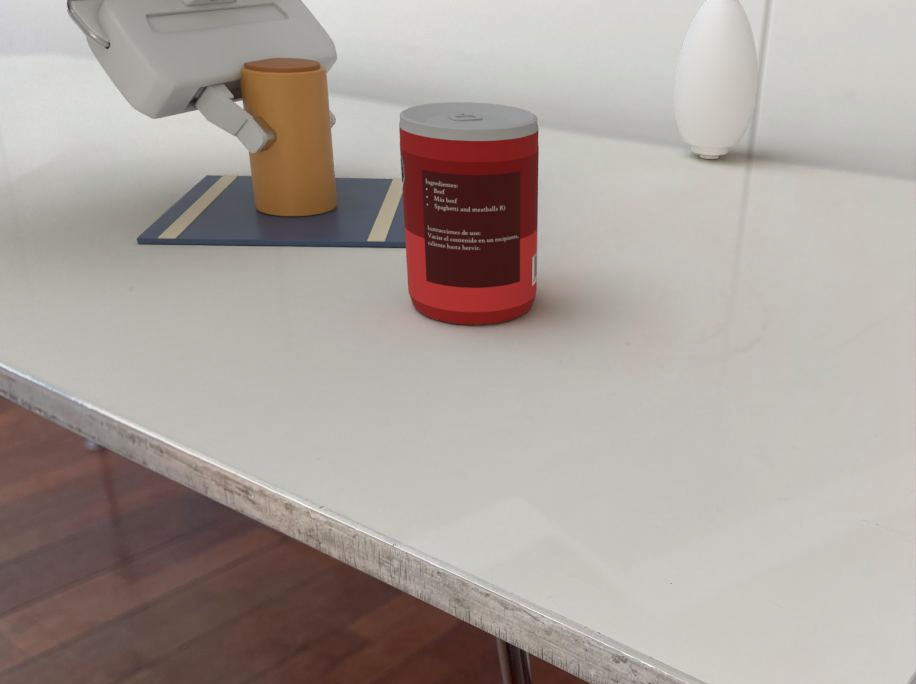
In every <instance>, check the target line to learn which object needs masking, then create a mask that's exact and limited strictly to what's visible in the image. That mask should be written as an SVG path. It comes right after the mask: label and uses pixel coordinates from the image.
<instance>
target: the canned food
mask: <svg viewBox="0 0 916 684" xmlns="http://www.w3.org/2000/svg"><path fill="white" fill-rule="evenodd" d="M398 128H399V129H398V130H399V154H400V155H399V157H400V170H401V171H400V172H401V173H400V174H401V178H402V190H403V207H404V225H405V242H406V247H405V257H406V273H407V290H408V295H409V297H410V301H411V303H412V305H413V307H414V308H415V310H417V311H418V312H419V313H420V314H422V315H424V316H426V317H427V318H430V319H432V320H436V321H439V322H443V323H449V324H455V325H466V326H481V325H483V326H485V325H494V324H500V323H505V322H508V321H513V320H516V319H517V318H520V317H522V316H524V315H525V314H526V313H527V312H529V311H530V310H531V309H532V307H533V305H534V302H535V298H536V295H537V290H538V289H537V288H538V287H537V285H538V284H537V283H538V281H537V280H538V220H539V219H538V214H539V213H538V212H539V154H540V153H539V147H540V146H539V124H538V116H537V115H536V114H535V113H533V112H531V111H529V110H526V109H524V108H520V107H516V106H512V105H505V104H497V103H487V102H470V101H467V102H464V101H453V102H452V101H451V102H450V101H449V102H433V103H424V104H418V105H413V106H411V107H408V108H405V109H404V110H402V111H401V112H400V113H399V122H398Z"/></svg>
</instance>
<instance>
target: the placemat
mask: <svg viewBox="0 0 916 684" xmlns="http://www.w3.org/2000/svg"><path fill="white" fill-rule="evenodd" d="M335 184H336V196H337V207H336V208H335V209H333V210H331V211H329V212H326V213H322V214H317V215H311V216H296V217H289V216H276V215H270V214H265V213H262V212H260V211H258V210H257V209H256V207H255V200H254V192H253V183H252V175H239V174H238V175H237V174H223V175H221V174H220V175H218V174H217V175H214V174H213V175H211V174H206V175H205V176H204V177H203V178H202V179H200V181H198V183H196V184H195V185H194V186H193V187H192V188H191V189H190V190H189V191H187V192H186V193H185V194H184V195H183V196H182V197H180V199H179V200H177V201H176V202H175V203H174V204H173V205H171V207H170V208H168V209H167V210H166V211H165V212H164V213H163V214H162V215H161V216H159V218H157V219H156V220H155V221H154V222H153V223H152V224H150V225H149V226H148V227H147V228H146V229H145V230H144V231H143V232H142V233H140V234H139V235H138V237H136V243H137V244H138V245H139V244H141V245H143V244H144V245H145V244H146V245H207V246H208V245H212V246H213V245H215V246H219V245H220V246H279V247H280V246H281V247H282V246H285V247H286V246H289V247H294V246H295V247H356V248H357V247H358V248H359V247H360V248H361V247H363V248H365V247H366V248H406V242H405V225H404V207H403V190H402V177H401V178H396V177H393V178H374V177H373V178H366V177H365V178H364V177H335Z"/></svg>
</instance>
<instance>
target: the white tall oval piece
mask: <svg viewBox="0 0 916 684" xmlns="http://www.w3.org/2000/svg"><path fill="white" fill-rule="evenodd" d="M676 62H677V63H676V66H675V72H674V78H673V86H672V87H673V89H672V90H673V91H672V104H673V113H674V118H675V124H676V126H677V127H676V128H677V130H678V132H679V135H680V137H681V139H682V141H683V142H684V144H685V143H686V144H687V145H690V146H691V147H690V148H691V149H690V150H691V152H692V153H694V154H698V155H699V158H701V159H704V160H705V159H706V160H716V159H719V158H720V157H719V156H724V155H727V154H728V153H729V149H730V148H732V147H736V146H737V145H739V143H740V142H741V140H742V139H743V137H744V135H745V133H746V132H747V130H748V128H749V127H750V123H751V121H752V118H753V115H754V112H755V107H756V103H757V97H758V86H759V66H758V56H757V47H756V43H755V38H754V34H753V31H752V27H751V24H750V21H749V17H748V15H747V13H746V11H745V9H744V6H743V5H742V4H741V2H740V1H739V0H705V1H704V2H703V4H702V5H701V6H700V8H699V9H698V11H697V12H696V14H695V16H694V17H693V20H692V21H691V23H690V25H689V27H688V29H687V32H686V34H685V37H684V39H683V42H682V45H681V47H680V51H679V54H678V57H677V61H676Z"/></svg>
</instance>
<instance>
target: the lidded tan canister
mask: <svg viewBox="0 0 916 684" xmlns="http://www.w3.org/2000/svg"><path fill="white" fill-rule="evenodd" d="M244 65H245V68H242V69H241V73H242V78H241V80H240V83H241V92H242V109H244V110H245V111H246V112H248V113H249V114H250V115H251V116H253V117H254V118H256V117H262V118H263V119H264V120H265V121H266V122H267V124H268V127H270V128H271V129H273V131H274V132H275V135H276V139H275V141H274V142H273V143H272V144H271V146H270V147H269V148H268V149H267V150H264V151H260V152H257V153H251V152H249V151H248V157H249V167H250V174H251V175H250V176H252V183H253V192H254V200H255V207H256V209H257V210H258V211H260V212H262V213H265V214H270V215H276V216H289V217H296V216H311V215H317V214H322V213H326V212H329V211H331V210H333V209H335V208H336V207H337V196H336V184H335V178H336V173H335V159H334V149H333V137H332V128H331V122H330V111H331V109H330V99H329V86H328V85H329V84H328V73H327V72H326V67H324V66H322V65H320V63H319V62H317V61H313V60H308V59H298V58H270V59H264V60H258V61H252V62H246V63H244Z"/></svg>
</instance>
